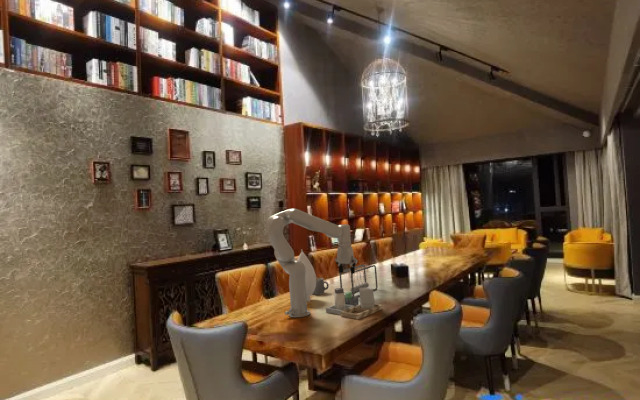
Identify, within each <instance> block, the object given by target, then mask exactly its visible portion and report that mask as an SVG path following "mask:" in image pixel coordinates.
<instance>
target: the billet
mask: <svg viewBox="0 0 640 400" xmlns="http://www.w3.org/2000/svg"><path fill="white" fill-rule="evenodd" d="M344 290H345V289H344V288H343V287H342V288H340V287H338V288H337V287H336V288H334V292H333V296H334V305H335V309H337V310H343V309H346V308H345V291H344Z"/></svg>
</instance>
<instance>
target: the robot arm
mask: <svg viewBox="0 0 640 400" xmlns="http://www.w3.org/2000/svg"><path fill="white" fill-rule="evenodd" d="M289 224H294V225H297V226H300V227H302V228H305V229H307V230H309V231H313V232H319V233H321V234H324V235H325V236H326V237H328V238H331V239H332V238H333V239H337V240H338V242H337V245H338V247H337V251H336V252H337V256H336V258H335V259H334V261H335V262H336V264H337V267H338V272H339V274H340V273H341V274H342V273H344V272H343V270H344V266H343V265H345V264H346V265H349V266H350V269H351V271H350V275H351V274H353V275H354V273H355V274H356V272H355V267H356V266H357V265H358V264H357V263H358V259H357V258H356V257H355V255H354V250H353V249H354V248H353V247H352V240H351V239H352V237H351V226H350V225H349V224H339V225H337V224H336V223H333V222H330V221H328V220H326V219H323V218H320V217H318V216H315V215H312V214H310V213H307V212H305V211H303V210H300V209H299V208H298V209H297V208H288V209H286V210H284V211H280V212H278V213H275V214H274V215H271V216H269V217H268V218H267V219H266V226H267V228H268V229H267V230H268V232H267V237H268V241H269V243H270V245H271V247H272V248H273V250H274V251H273V252H274V253H273V254H274V257H275V258H276V261H277V262H278V263H279V265H280V267H282V269H283V271H284V272H285V274H287V275H289V278H288V288H289V300H290V307H289V309H288V310H287V311H285V312H284V315H286V316H287V315H288V316H289V317H290V318H304V317H308V316H310V314H311V311H310V310H308V303H307V299H306V285H305V273H306V269H305V266H304V264H303V263H302V262H301V261H298V260H297V259H296V258H295V252H294V249H293V248H292V247H291V245H290V243H289V242H288V241H287V239H286V237H285V236H284V233H283V232H284V227H285V226H288V225H289Z"/></svg>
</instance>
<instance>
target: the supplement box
mask: <svg viewBox="0 0 640 400" xmlns="http://www.w3.org/2000/svg"><path fill="white" fill-rule="evenodd" d="M373 289H374V288H373V287H371V286H368V287H367V288H359V293H358V294H359V295H360V297H359V303H360V304H359V305H360V306H361V308H365V309H371V308H374V307H375V306H374V304H375V295H374V294H375V293H374V291H373Z"/></svg>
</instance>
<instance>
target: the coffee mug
mask: <svg viewBox="0 0 640 400" xmlns="http://www.w3.org/2000/svg"><path fill="white" fill-rule="evenodd" d="M325 284H326V286H325ZM329 287H330V286H329V282H328V281H327V280H326V281H325V280H324V278H323V277H316V287H315V290H314V292H313V293H312V295H313V296H319V295H323V294H325V291H326V290H328V289H329ZM312 295H311V296H312Z"/></svg>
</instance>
